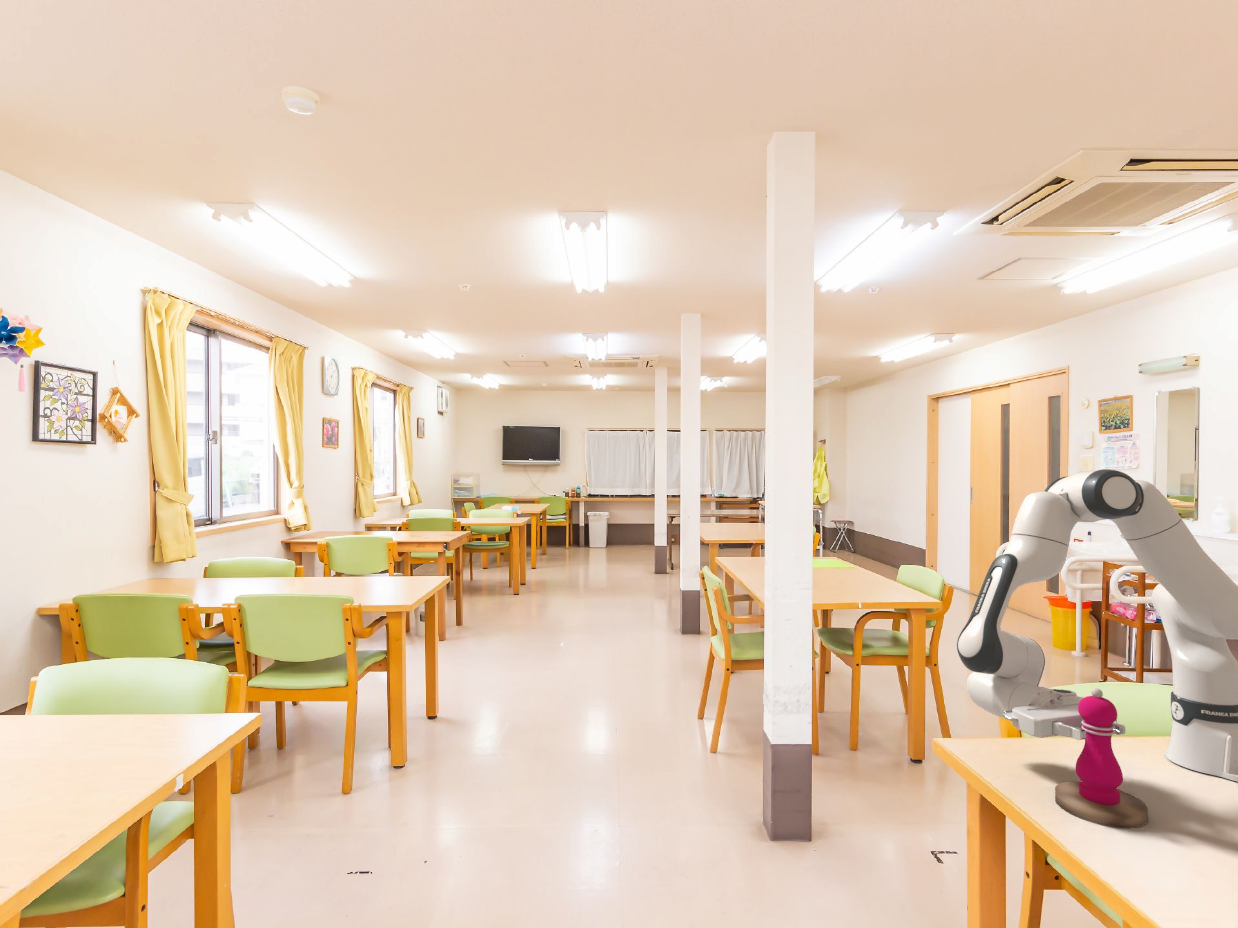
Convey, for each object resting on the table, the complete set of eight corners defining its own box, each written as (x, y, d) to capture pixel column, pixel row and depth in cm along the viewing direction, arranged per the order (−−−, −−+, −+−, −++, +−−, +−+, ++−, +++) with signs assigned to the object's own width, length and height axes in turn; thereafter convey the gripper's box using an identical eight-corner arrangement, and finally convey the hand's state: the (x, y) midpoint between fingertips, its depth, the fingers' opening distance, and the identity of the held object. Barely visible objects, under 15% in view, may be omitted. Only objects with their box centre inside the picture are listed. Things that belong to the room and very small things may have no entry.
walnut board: (1117, 793, 132) (1117, 783, 132) (1167, 829, 118) (1167, 818, 118) (1040, 789, 133) (1040, 779, 133) (1081, 825, 119) (1081, 813, 119)
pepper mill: (1081, 785, 131) (1078, 680, 131) (1127, 797, 125) (1124, 688, 126) (1071, 797, 126) (1069, 688, 126) (1119, 810, 120) (1116, 696, 121)
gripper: (996, 697, 136) (1058, 720, 122) (1076, 689, 141) (1143, 710, 128) (996, 729, 135) (1059, 756, 122) (1076, 719, 141) (1144, 744, 128)
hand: (1103, 732), depth 125 cm, fingers open, 8 cm apart
